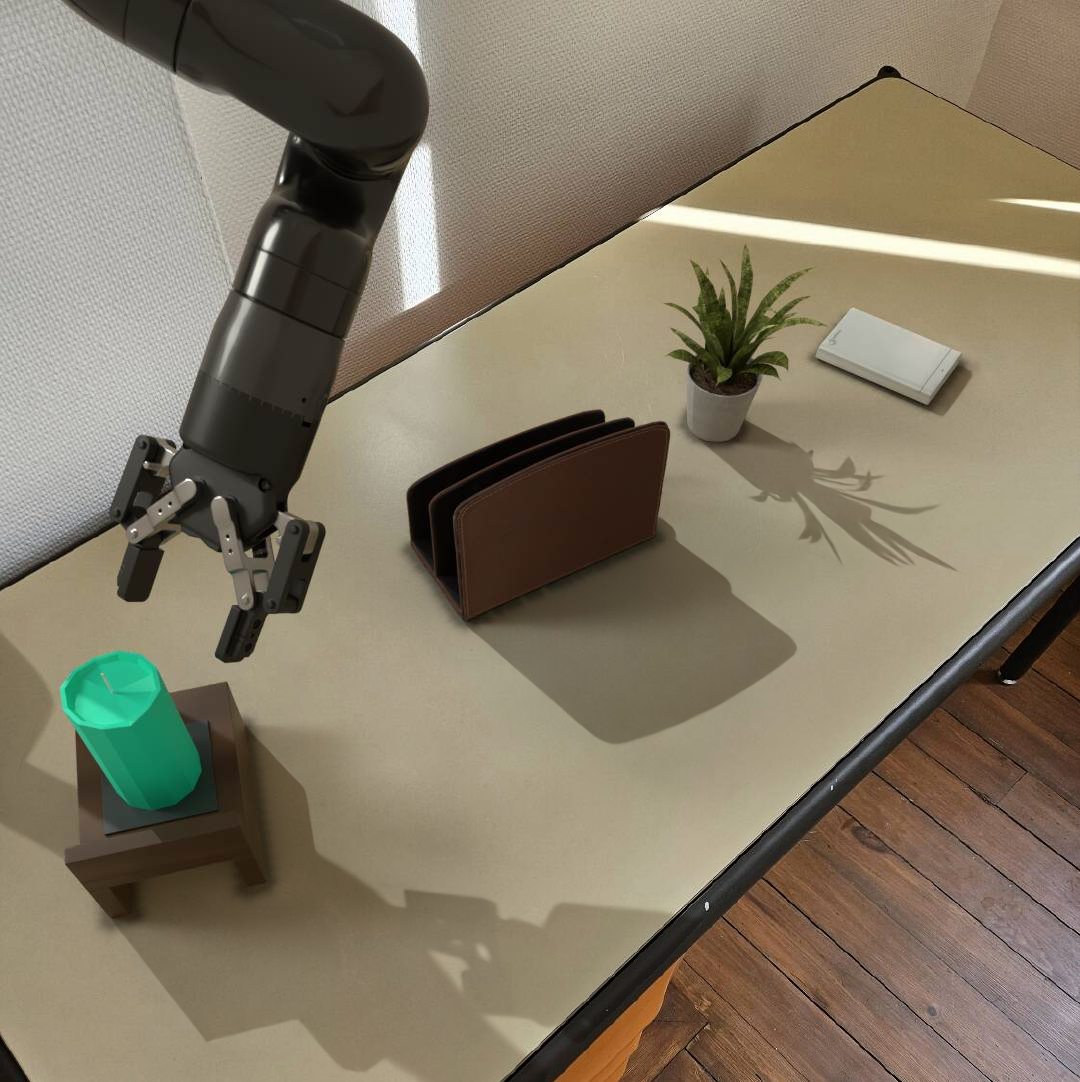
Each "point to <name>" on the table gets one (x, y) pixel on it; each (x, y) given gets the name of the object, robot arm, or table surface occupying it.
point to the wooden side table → (171, 811)
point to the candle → (132, 729)
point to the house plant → (731, 351)
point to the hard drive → (889, 355)
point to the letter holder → (537, 507)
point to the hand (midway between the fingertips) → (179, 629)
